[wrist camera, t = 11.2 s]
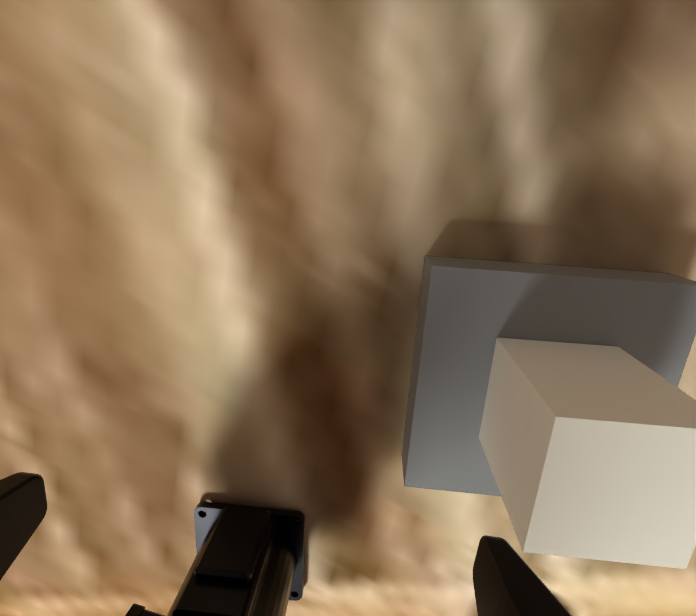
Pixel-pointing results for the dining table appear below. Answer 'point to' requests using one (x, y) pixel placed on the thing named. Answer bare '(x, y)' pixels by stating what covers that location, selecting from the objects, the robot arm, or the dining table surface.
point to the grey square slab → (529, 324)
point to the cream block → (591, 453)
